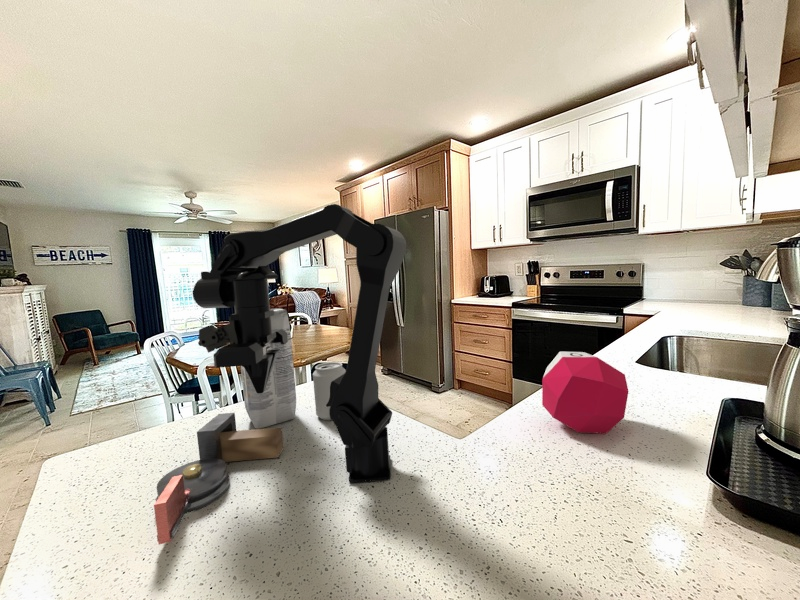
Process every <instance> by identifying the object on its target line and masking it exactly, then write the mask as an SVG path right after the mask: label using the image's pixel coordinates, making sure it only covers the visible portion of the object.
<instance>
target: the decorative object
mask: <svg viewBox="0 0 800 600" xmlns="http://www.w3.org/2000/svg"><path fill="white" fill-rule="evenodd" d="M541 381H542V383H541V384H542V389H541V391H542V393H541V394H542V395H541V396H542V397H541V398H542V400H541V403H542V404H541V405H542V407H544V409H545V410H546V411H547V412H548V413H549V415H551V417H552V418H553V419H555V420H556V421H557V422H560V423H562V424H563V425H565V426H567V427H568V428H570V429H572V430H574V431H575V432H578V433H583V434H584V433H585V434H602V435H604V434H605V435H606V434H607V433H608V432H610V430H612V429H613V428H614V427H616V425H618V424H619V423H620V422H621V421H622V420H623V419H624V418H625V414H626V409H627V408H626V407H627V403H628V396H629V388H628V383H627V378H626V375H625V373H623V372H621V371H620V370H618V369H616V368H615V367H614V366H612V365H611V364H609V363H608V362H606V361H604V360H602V359H601V358H599V357H598V356H595V355H592V354H590V353H587V352H585V351H584V352H583V351H559V352H558V353H557V354H556V356H555V357H554V358H553V360H552V361H551V362H550V363H549V364H548V365H547V367H546V368H545V372H544V374H543V376H542V380H541Z"/></svg>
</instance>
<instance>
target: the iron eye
mask: <svg viewBox="0 0 800 600" xmlns="http://www.w3.org/2000/svg"><path fill="white" fill-rule="evenodd" d="M229 431H237V422H236V414H235V412H229V413H228V412H226V413H218V414H217V415H216V416H214V417H213V418H212V419H211V420H209V421H208V422H207V423H205V425H203V426H202V427H201V428H199V429H198V430H197V431H196V435H197V437H196V438H197V445H198V455H199V460H202V459H210V458H215V459H221V460H223V459H222V450H221V440H220V432H229Z"/></svg>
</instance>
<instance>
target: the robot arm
mask: <svg viewBox="0 0 800 600" xmlns="http://www.w3.org/2000/svg"><path fill="white" fill-rule="evenodd" d="M336 235H337V236H338V237H340V238H341V239H342V240H343V241H345V242H346V243H348V244H349V245H351V246H352V247H355V251H356V252H355V261H356V262H355V263H356V270H357V272H358V278H359V282H360V283H359V284H360V285H359V290H358V291H359V293H358V299H357V303H356V304H357V305H356V310H355V317H354V321H353V329H352V333H351V334H352V335H351V339H350V340H351V341H350V346H349V353H348V357H347V358H348V359H347V364H346V369H345V370H346V372H345V373H344V374H343V375H341V376H340V377H338V378H336V379H335V380H333V381H332V382H331V385H330V398H329V401H328V403H327V404H326V406H327V407H329V406H330V409H329V415H330V419H331V420H330V421H332V422H333V424H334V425H335V427H336V430H337V432H338V434H339V436H340V439H341V442H342V444H343V445H345V446H344V453H345V455H344V456H345V466H346V473H347V474H348V473H349V475H348V482H349V483H350V484H354V483H364V482H367V483H368V482H377V481H385V480H386V481H387V480H390V479H392V477H391V476H392V473H391V471H392V470H391V469H392V467H391V455H390V447H389V435H388V427H387V426H388V425H389V424H390V422H391V420H392V417H393V416H392V415H393V411H392V409H390V408H389V407H388V406H387V405H386V404H385V403H384V402H383V401H382V400H381V399H380V398H379V382H378V378H377V374H376V366H377V361H378V356H379V351H380V344H381V340H382V339H381V338H382V332H383V328H384V321H385V317H386V311H387V305H388V299H389V294H390V289H391V286H392V284H393V282H394V280H395V278H396V277H397V274H398V273H399V271H400V268H401V266H402V264H403V260H404V258H405V255H406V251H407V241H406V239H405V237H404V235H403V233H401V232H400V231H399V230H397V229H395V228H392V227H389V226H387V225H383V224H381V223H372V222H370V221H368V220H366V219H364V218H362V217H361V216H358V215H357V214H355V213H353V211H352V210H351V209H350V208H347V207H344V206H342V205H340V204H336V203H330V204H328V205H326V206H324V208H321V209H319V210H316V211H313V212H311V213H308V214H305V215H303V216H300V217H297V218H294V219H291V220H289V221H286V222H284V223H281V224H279V225H276V226H274V227H271V228H268V229H263V230H246V231H239V232H232V233H229V234H227V235H226V236H225V237H224V238H223V243H222V245H221V248H220V250H219V252H218V254H217V256H216V258H215V260H214V262H213V263H212V267H211V270H210V271H209V270H208V271H201V272H200V279H198V280H197V281H196V283H195V284H194V286H193V290H192V298H193V300H194V302H195V303H196V304H197V305H198V307H201V308H203V309H218V308H219V309H222V308H223V309H225V308H234V313H232V314H230V316H229V317H228V321H229V323H228V324H226V325H223V326H220V327H218V328H217V327H216V326H215V325H213V324H211V325H207V326H204V327H202V328H200V329H199V330H198V336H197V337H198V346H199V347H203V348H205V349H206V351H207V353H208V354H209V353H211V352H213V351H215V350H217V351H216V352H215V353H213V355H212V356H213V364H214V366H213V367H214V368H216V369H217V368H229V367H241V366H243V367H244V368H245V369H246V371H247V373H248V375H249V377H250V379H251V382H252V384H253V386H254V388H255V390H256V392H257V393H258V394H259V393H263V392H264V391H265V388H266V385H267V382H268V380H269V377H270V374H271V371H272V368H273V365H274V363H275V360H276V357H277V355H278V353H279V349H275V350H272V348H271V346H269V344H270V343H281V345H282V344H286V343H287V342H288V337H287V333H286V332H285V331H284V330H283V329H276V330H272V324H271V316H273V315H274V310H270V309H271V305H270V294H269V285H268V280H277V279H278V278H279V276H278V274H277V273H276V272H275V271H272V270H271V268H270V267H269V266H268V265H270V264H271V263H273V262H275V261H277V260H278V259H279V257H280V256H281V255H282V254H285V253H286V252H289V251H291V250H296V249H297V248H300V247H303V246H306V245H309V244H312V243H316V242H318V241H321V240H323V239H324V240H325V239H327V238H330V237H333V236H336Z"/></svg>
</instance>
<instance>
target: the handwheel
mask: <svg viewBox="0 0 800 600" xmlns="http://www.w3.org/2000/svg"><path fill="white" fill-rule="evenodd" d="M226 463H227V462H224V461H223V460H221V459H215V458H210V459H202V460H200V459H198V460H195V461H191V462H187V463H186V464H183V465H181V466H179V467H176V468H174V469H173V470H171V471H169V472H168V473H166V474H164V475H163V476H162V477H161V478H160V479H159V481H158V482H157V485H156V493H157V496H158V500H157V501H156V500H155V502H154V504H153V508H154V517H155V525H156V533H157V535H156V539H157V542H158V545H163V544H167V543H171V541H172V539H174V537H175V535H176V532H177V531H178V529H179V527H180V525H181V524H182V521H183V519H184V517H185V515H186V514H187V513H186V511H187V509H188V507H189V505H190V503H191V502H194V501H197V500H200V499H202V498H204V497H206V496H208V495H210V494H211V493H213V492H214V491H216V490H217V489H218V488H220V487H221V486H222V485H223V484H224V482H225V481H226V479H227V472H228V471H227V464H226ZM185 513H186V514H185Z"/></svg>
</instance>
